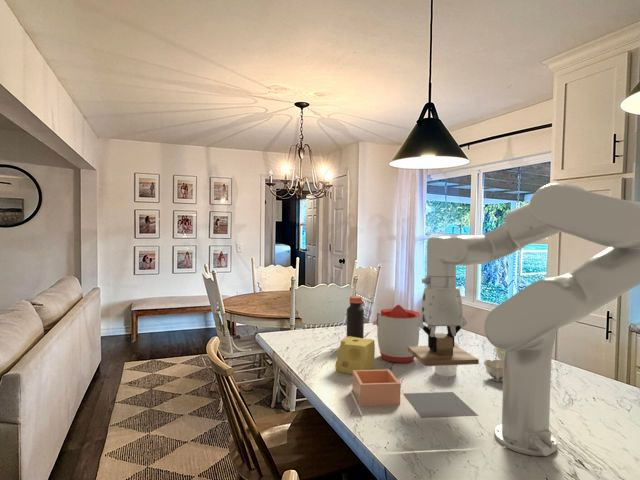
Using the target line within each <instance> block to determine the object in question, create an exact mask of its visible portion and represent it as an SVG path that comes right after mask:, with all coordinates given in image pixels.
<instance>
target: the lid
mask: <svg viewBox="0 0 640 480" xmlns="http://www.w3.org/2000/svg"><path fill="white" fill-rule="evenodd" d="M446 334H447V333H444V332H438V333H437V332H435V337H436V352H433V351H432V350H430V348H429V347H428V345H418V346H408V351H409V352H410V353H411V354H412V355H413V356H414V358H416V360H418V361H419V362H420V363H422V364H423V365H424V367H435V366H445V365H457V366H465V365H467V366H469V365H471V366H472V365H479V364H480V363H479V362H480V360H479V358H477V357H475V356H474V355H473V354H471V353H469V352H467V351H466V350H464V349H463V348H461V347H460V346H459V347H457V346H456V345H454V347H453V338H451V337H449V336H448V335H446Z"/></svg>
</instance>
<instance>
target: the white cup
mask: <svg viewBox="0 0 640 480" xmlns="http://www.w3.org/2000/svg"><path fill="white" fill-rule="evenodd" d="M454 345H456V346H457V347H459V348H460V346H459V344H458V342H455V341H454ZM457 367H458V365H445V366H434V374H436V375H439V376H441V377H455V376H456V375H457V369H458V368H457Z"/></svg>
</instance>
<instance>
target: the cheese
mask: <svg viewBox="0 0 640 480" xmlns="http://www.w3.org/2000/svg"><path fill="white" fill-rule="evenodd" d="M375 344H376V343H375V340H374V339H372V338H371V339H370V338H364V337H363V338H356V337H351V336H348V337H347V336H345V337H344V338H343V339H341V340H340V345H339V347H338V348H337V350H336V353H335V354H336V357H337V360H335V364H334V365H335V372H337V373H344V374H349V375H353V370H373V369H374V368H375V355H376V353H375V352H376V351H375V349H376V347H375V346H376V345H375Z"/></svg>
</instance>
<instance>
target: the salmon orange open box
mask: <svg viewBox="0 0 640 480" xmlns="http://www.w3.org/2000/svg"><path fill="white" fill-rule="evenodd" d="M401 385H402V384H401V382H400V381H399V379H398V378H397V377H396V376H395V375H394V373H393V372H392V371H391V370H390V369H371V370H353V374H352V390H351V391H352V393H353V394H354V396H355V399H356V400H357V402H358V404H359V406H360V407H368V406H369V407H370V406H374V407H375V406H393V405H395V406H396V405H398V406H399V405H401V387H402V386H401Z"/></svg>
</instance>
